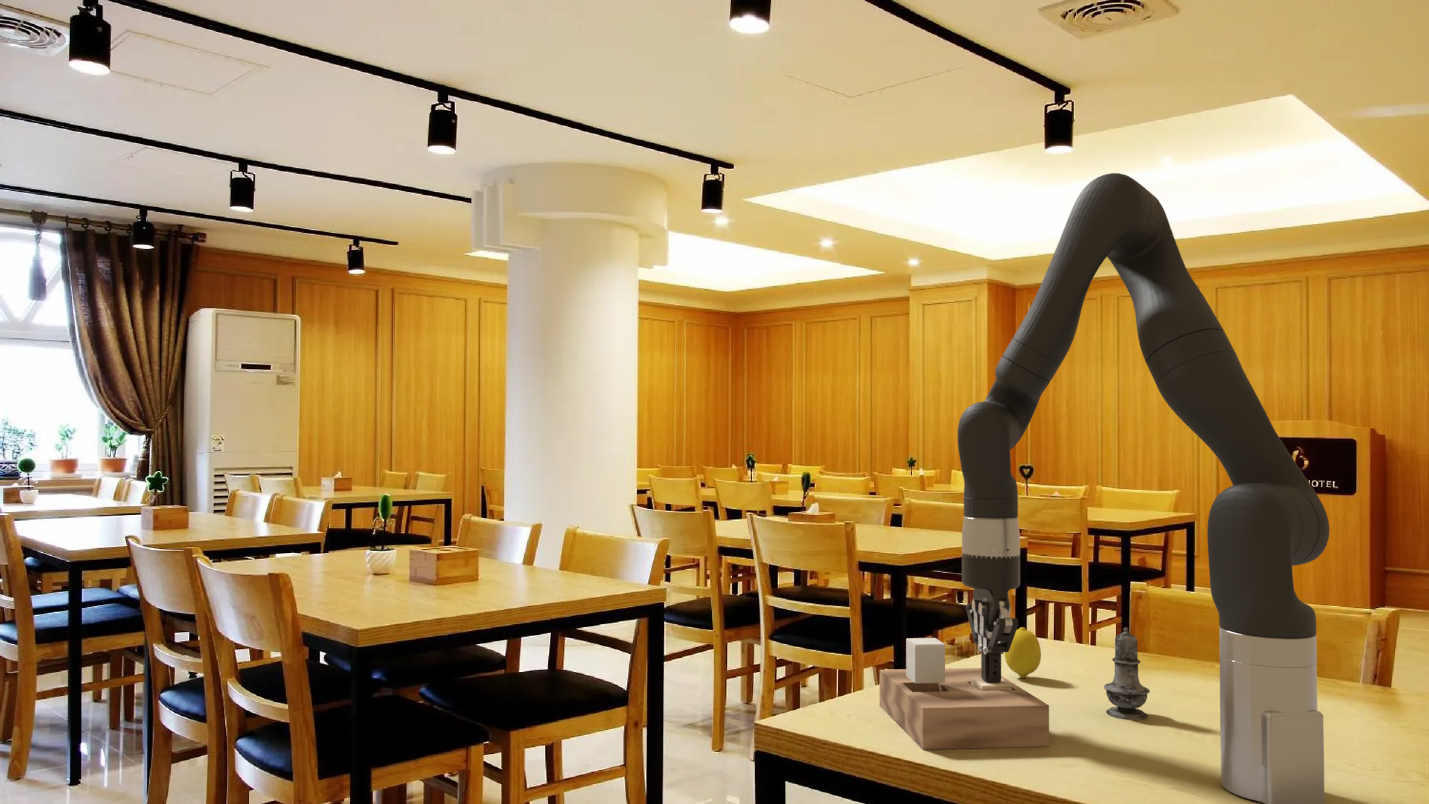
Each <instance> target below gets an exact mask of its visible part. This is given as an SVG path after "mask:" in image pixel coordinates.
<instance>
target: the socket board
mask: <svg viewBox="0 0 1429 804" xmlns="http://www.w3.org/2000/svg"><path fill="white" fill-rule="evenodd" d="M971 678H981V667H967V668H964V667H959V668H955V667H953V668H952V667H951V668H945V683H914V682H913V681H912V680H911V679H909V678H908V677H907V676H906V668H905V669H904V668H903V669H902V668H900V669H894V668H893V669H879V706H880V707H881V708H882V710H883V711H885V713H886V714H887V715H889V716H890V717H891V718H892V720H894V721H895V723H896V724H897V725H899V727H900V728H901V729H902V730H903V731H904V732H905V733H906V734H907V735H908V736H909V737H910V738H911V739H912V740H913V741H914V742H915V743H916V745H918V746H919V747H920V748H921V749H922V750H923V749H924V750H956V749H959V750H960V749H992V748H993V749H997V748H998V749H999V748H1001V749H1002V748H1033V747H1035V748H1039V747H1044V748H1045V747H1050V705H1049V704H1047V703H1046V702H1045V701H1043V700H1041V699H1040V698H1039V697H1036V696H1034V695H1033V694H1031V693H1029V692H1028V691H1027V690H1025V689H1023V688H1022V687H1021V686H1019V685H1017V684H1015V683H1013V681H1010V680H1008V678H1006V677H1004V676H1003V675H1001V679H1003V680H1004V681H1006V682H1008V683H1009V684H1011V685H1012V690H999V691H979V690H978V689H976V688H975V687H974V686H972V685H971Z"/></svg>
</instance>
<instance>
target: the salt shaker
mask: <svg viewBox="0 0 1429 804" xmlns="http://www.w3.org/2000/svg"><path fill="white" fill-rule="evenodd" d="M1122 630H1123V632H1122V633H1119V634H1117V635H1116V636H1115V638H1114V651H1115V652H1114V657H1113V658H1112V659H1111V661H1113V662H1114V676H1113V679H1112V681H1111V682H1110V683H1109V682H1108V683H1106V684H1104V685H1103V689H1104V690H1105V691H1106V693H1105V694H1106V697H1107V699H1108V701H1109V702H1110V703H1111V704H1112V705H1114V706H1112V707H1110V708H1108V709H1106V711H1105V713H1106V714H1107V715H1108V716H1110V717H1113V718H1116V719H1122V720H1131V721H1138V720H1145V719H1147V718H1148V717H1149V716H1148V714H1147V713H1146V712H1145V711H1144V710H1141V709H1139V708H1141V707H1142V706H1143V705H1144V704H1146V701H1147V699H1148V694H1150V692H1151V691H1150V689H1149V688H1148V687H1146V686H1143V685H1142V683H1141V682H1140V678H1139V664H1140V663H1141V660H1140V659H1138V638H1137V637H1136V636H1135V635H1133V634H1131V633H1130V632H1129V628H1128V627H1127V626H1125V627H1123V629H1122Z"/></svg>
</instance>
